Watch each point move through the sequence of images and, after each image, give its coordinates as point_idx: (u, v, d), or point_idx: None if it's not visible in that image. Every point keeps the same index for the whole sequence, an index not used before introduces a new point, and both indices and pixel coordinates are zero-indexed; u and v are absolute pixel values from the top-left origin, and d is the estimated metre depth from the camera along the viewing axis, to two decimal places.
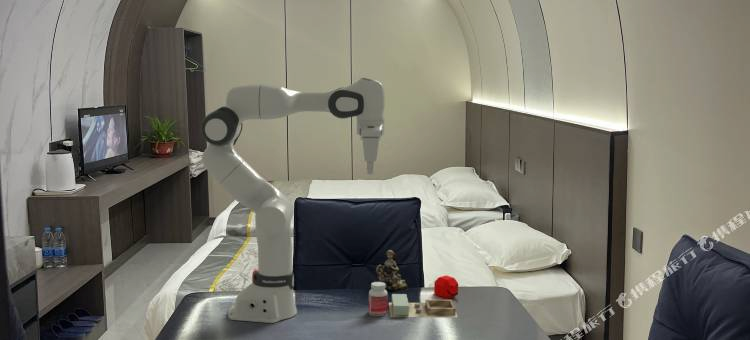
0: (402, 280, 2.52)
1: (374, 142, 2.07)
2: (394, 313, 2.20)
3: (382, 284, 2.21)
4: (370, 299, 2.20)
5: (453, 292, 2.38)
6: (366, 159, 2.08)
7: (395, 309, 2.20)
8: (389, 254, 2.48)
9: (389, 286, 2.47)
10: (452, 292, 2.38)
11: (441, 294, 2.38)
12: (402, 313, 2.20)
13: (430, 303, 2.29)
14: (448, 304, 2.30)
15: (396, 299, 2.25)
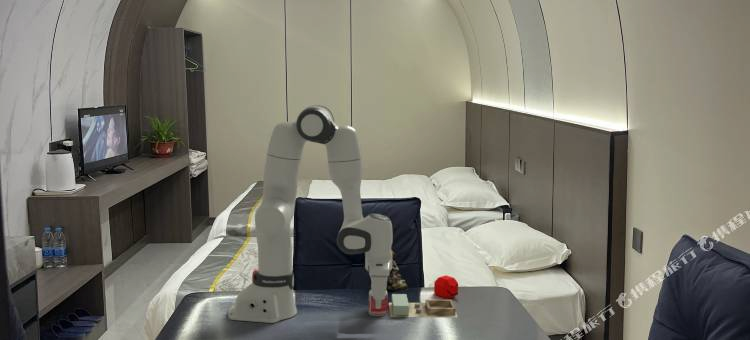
0: (402, 280, 2.52)
1: (383, 281, 2.11)
2: (394, 313, 2.20)
3: None
4: (370, 299, 2.20)
5: (453, 292, 2.38)
6: (375, 298, 2.12)
7: (395, 309, 2.20)
8: None
9: (389, 286, 2.47)
10: (452, 292, 2.38)
11: (441, 294, 2.38)
12: (402, 313, 2.20)
13: (430, 303, 2.29)
14: (448, 304, 2.30)
15: (396, 299, 2.25)
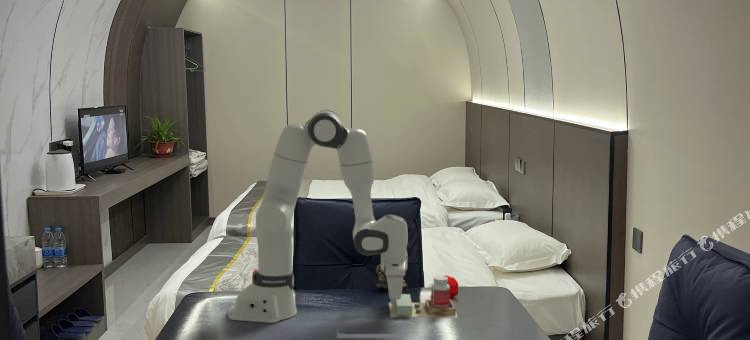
0: None
1: (399, 281, 2.15)
2: (397, 313, 2.20)
3: (445, 278, 2.24)
4: (433, 293, 2.23)
5: (453, 292, 2.38)
6: (391, 297, 2.15)
7: (398, 309, 2.20)
8: None
9: None
10: (452, 292, 2.38)
11: None
12: (405, 313, 2.20)
13: (430, 303, 2.29)
14: None
15: (399, 299, 2.25)
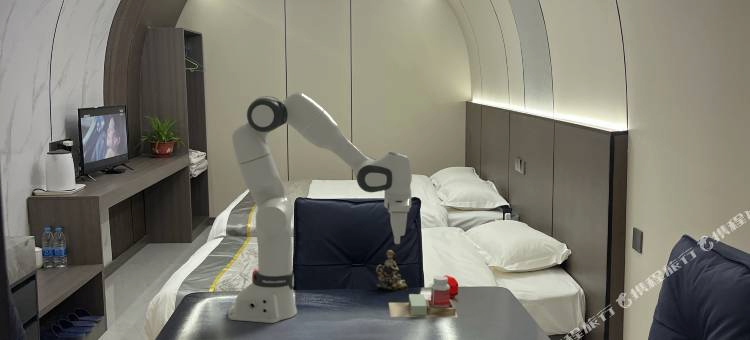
0: (402, 280, 2.52)
1: (403, 217, 2.12)
2: (412, 313, 2.20)
3: (445, 278, 2.24)
4: (433, 293, 2.23)
5: (453, 292, 2.38)
6: (394, 234, 2.12)
7: (413, 309, 2.20)
8: (389, 254, 2.48)
9: (389, 286, 2.47)
10: (452, 292, 2.38)
11: None
12: (420, 313, 2.20)
13: (430, 303, 2.29)
14: None
15: (414, 299, 2.26)
